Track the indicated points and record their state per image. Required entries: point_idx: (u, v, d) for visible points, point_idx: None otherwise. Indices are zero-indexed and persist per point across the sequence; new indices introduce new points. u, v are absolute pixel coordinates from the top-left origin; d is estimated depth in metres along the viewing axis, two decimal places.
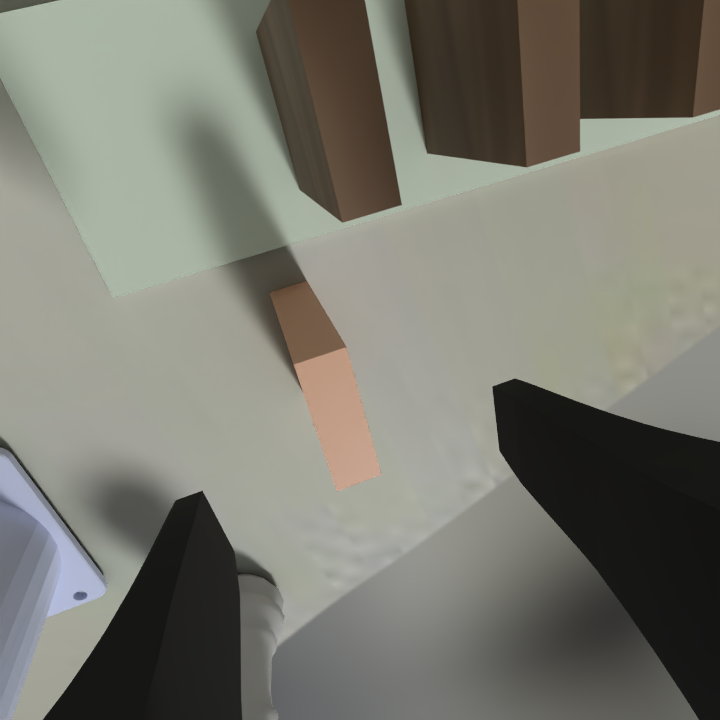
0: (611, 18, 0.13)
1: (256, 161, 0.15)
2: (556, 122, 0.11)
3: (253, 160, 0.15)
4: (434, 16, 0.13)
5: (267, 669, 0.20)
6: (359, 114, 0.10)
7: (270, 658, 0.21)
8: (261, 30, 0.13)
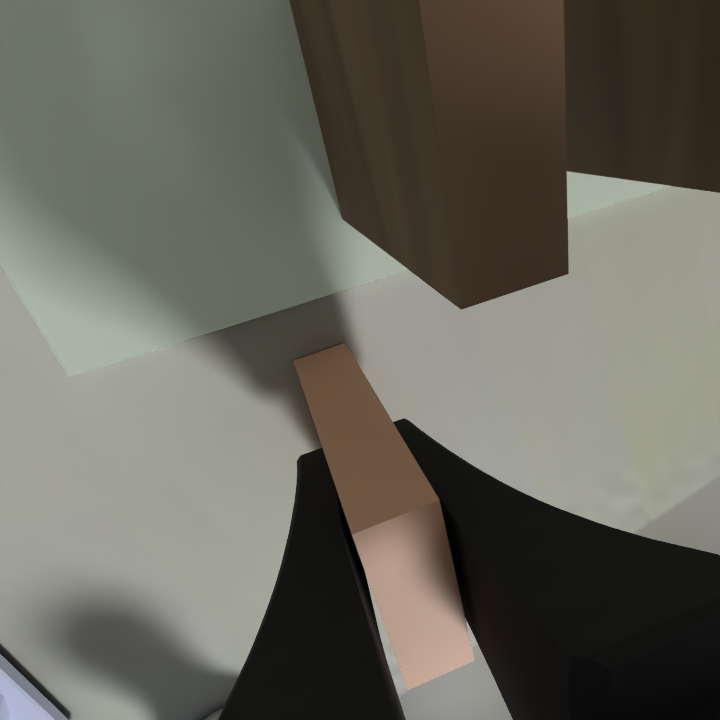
0: None
1: (280, 179, 0.10)
2: None
3: (276, 177, 0.10)
4: None
5: None
6: (516, 103, 0.05)
7: None
8: None
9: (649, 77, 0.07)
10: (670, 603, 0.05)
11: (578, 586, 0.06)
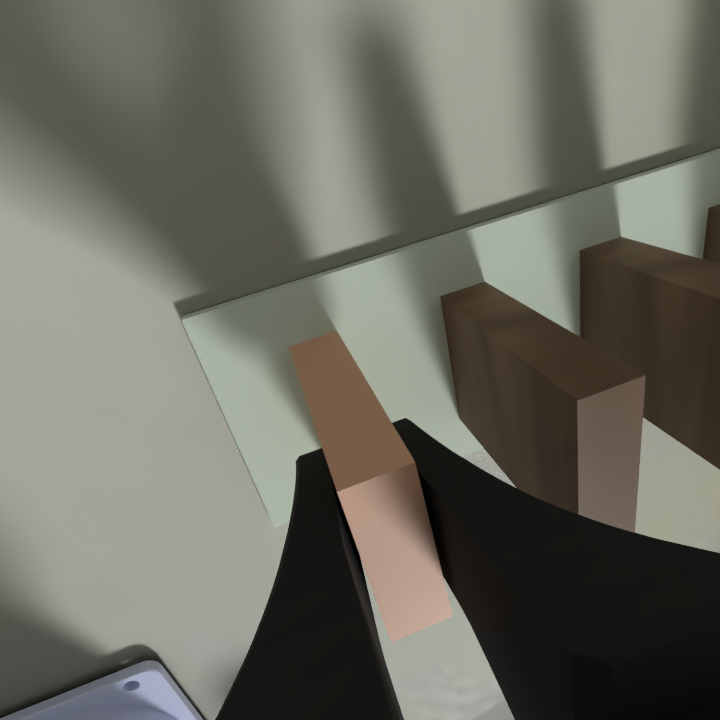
0: None
1: (423, 401, 0.15)
2: None
3: (420, 400, 0.15)
4: (628, 296, 0.13)
5: None
6: (615, 483, 0.10)
7: None
8: (460, 316, 0.13)
9: (673, 387, 0.13)
10: (673, 602, 0.05)
11: (580, 585, 0.06)
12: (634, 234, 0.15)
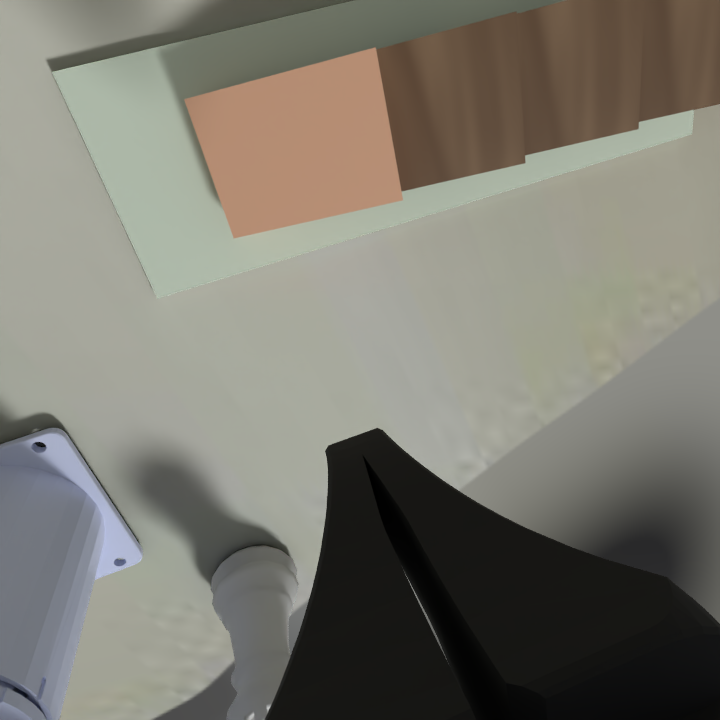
0: (675, 38, 0.17)
1: None
2: None
3: None
4: None
5: (285, 626, 0.23)
6: None
7: (287, 617, 0.23)
8: None
9: (570, 97, 0.17)
10: (612, 629, 0.05)
11: (526, 608, 0.05)
12: None
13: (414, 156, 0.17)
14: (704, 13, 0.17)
